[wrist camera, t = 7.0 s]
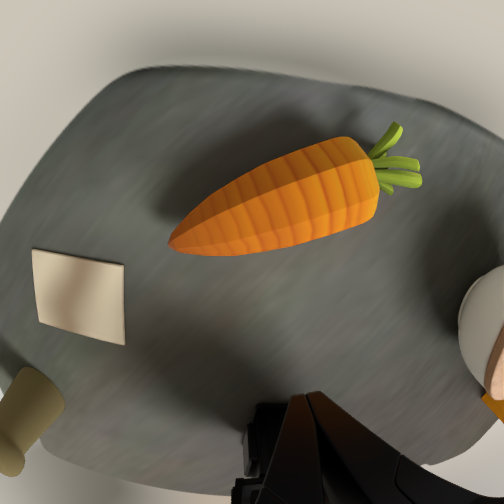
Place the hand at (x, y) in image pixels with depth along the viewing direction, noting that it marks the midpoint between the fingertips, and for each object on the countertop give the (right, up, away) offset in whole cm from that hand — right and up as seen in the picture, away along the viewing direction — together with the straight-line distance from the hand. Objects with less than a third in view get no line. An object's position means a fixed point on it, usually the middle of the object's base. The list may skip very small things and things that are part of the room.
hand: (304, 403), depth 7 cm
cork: (-22, -10, +13) cm, 28 cm away
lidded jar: (+19, -1, +13) cm, 23 cm away
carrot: (-6, +5, +8) cm, 11 cm away
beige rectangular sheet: (-14, +1, +11) cm, 18 cm away
